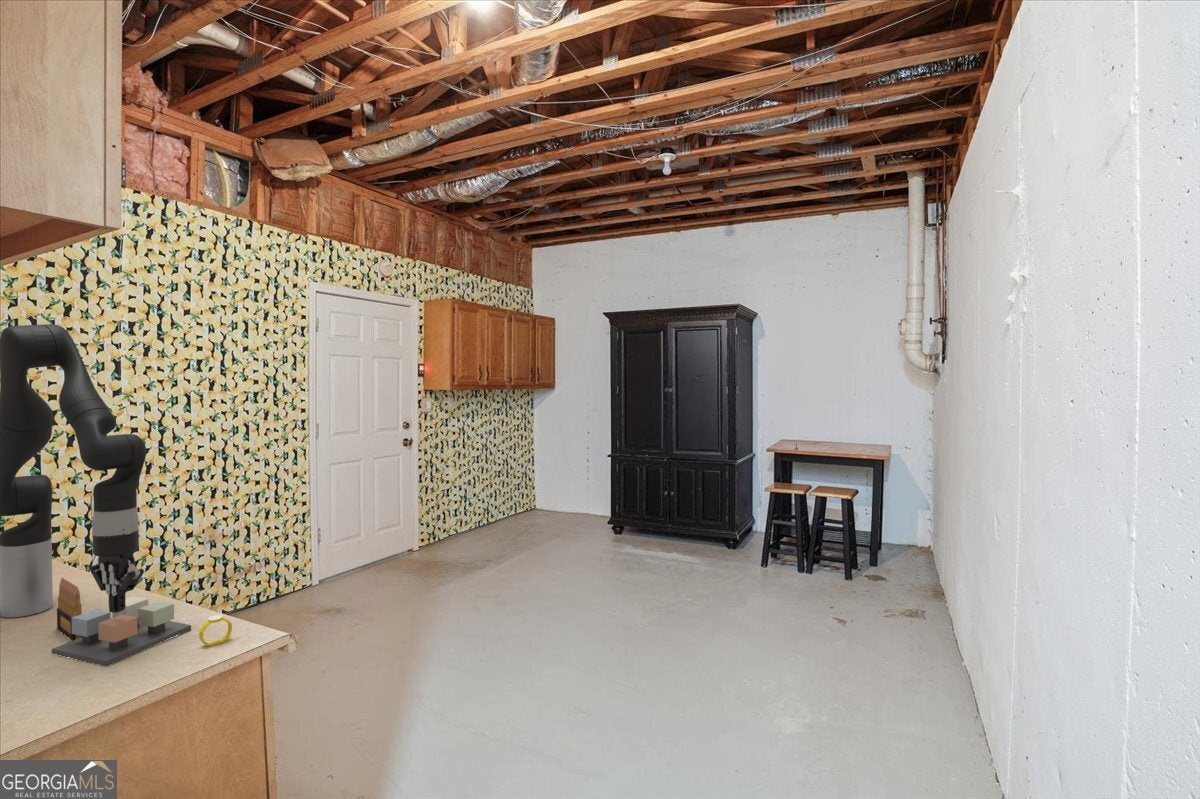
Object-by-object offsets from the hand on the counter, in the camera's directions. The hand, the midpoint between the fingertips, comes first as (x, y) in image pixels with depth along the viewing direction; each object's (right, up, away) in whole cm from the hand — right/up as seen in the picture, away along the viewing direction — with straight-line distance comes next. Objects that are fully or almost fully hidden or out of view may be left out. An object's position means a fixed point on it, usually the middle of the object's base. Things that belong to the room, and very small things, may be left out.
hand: (117, 611), depth 124 cm
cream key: (-5, -5, +10) cm, 13 cm away
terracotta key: (0, -6, 0) cm, 6 cm away
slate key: (-8, -5, +3) cm, 10 cm away
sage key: (+2, -5, +8) cm, 10 cm away
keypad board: (-3, -9, +6) cm, 11 cm away
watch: (+17, -9, +6) cm, 20 cm away
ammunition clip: (-18, -9, +9) cm, 22 cm away
